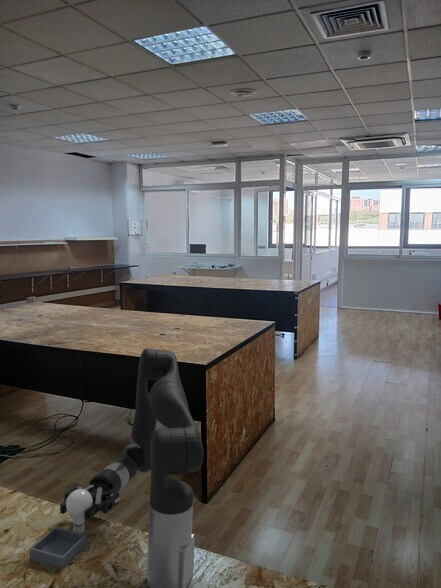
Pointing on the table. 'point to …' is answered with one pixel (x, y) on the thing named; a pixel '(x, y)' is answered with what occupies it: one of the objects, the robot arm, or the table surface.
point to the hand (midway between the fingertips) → (73, 513)
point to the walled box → (58, 547)
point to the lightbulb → (78, 508)
